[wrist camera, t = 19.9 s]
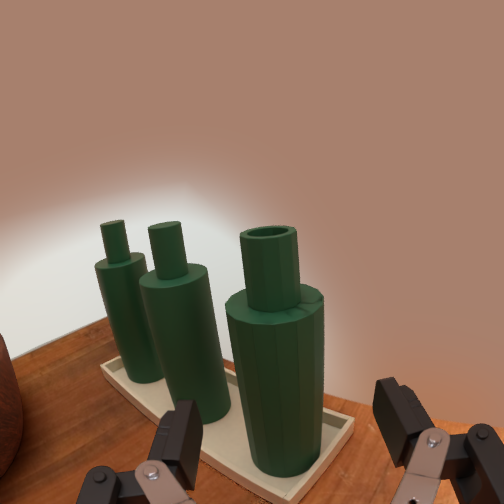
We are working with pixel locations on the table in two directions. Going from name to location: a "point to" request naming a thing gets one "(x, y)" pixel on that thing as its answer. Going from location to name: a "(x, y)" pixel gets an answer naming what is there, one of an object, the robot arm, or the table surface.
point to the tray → (235, 437)
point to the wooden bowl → (9, 411)
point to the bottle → (278, 353)
